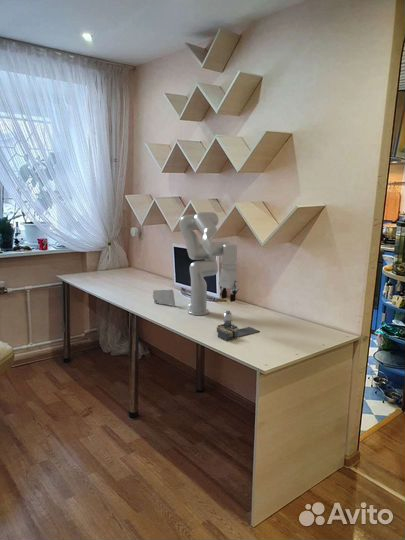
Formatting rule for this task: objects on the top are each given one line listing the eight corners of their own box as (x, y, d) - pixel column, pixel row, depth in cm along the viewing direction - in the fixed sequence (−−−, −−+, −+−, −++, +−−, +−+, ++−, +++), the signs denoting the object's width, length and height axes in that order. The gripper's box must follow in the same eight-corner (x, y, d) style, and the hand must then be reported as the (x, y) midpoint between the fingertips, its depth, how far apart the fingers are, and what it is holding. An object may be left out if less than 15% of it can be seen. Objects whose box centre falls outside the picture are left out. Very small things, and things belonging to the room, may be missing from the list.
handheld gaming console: (156, 305, 270) (175, 305, 262) (153, 306, 267) (173, 306, 260) (154, 288, 268) (173, 288, 261) (151, 289, 266) (171, 289, 259)
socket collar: (217, 326, 223) (217, 325, 223) (228, 324, 228) (228, 322, 228) (226, 330, 217) (226, 329, 217) (237, 327, 222) (237, 326, 222)
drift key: (216, 332, 211) (216, 327, 211) (220, 331, 213) (220, 326, 212) (229, 337, 203) (229, 332, 203) (233, 336, 205) (233, 331, 204)
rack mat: (228, 332, 214) (228, 332, 214) (249, 327, 223) (249, 326, 223) (238, 337, 208) (238, 336, 207) (259, 331, 216) (259, 330, 216)
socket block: (217, 337, 207) (218, 329, 206) (228, 334, 211) (228, 327, 211) (226, 341, 202) (226, 333, 201) (237, 338, 206) (237, 331, 205)
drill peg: (222, 327, 223) (222, 311, 221) (227, 325, 225) (228, 309, 224) (227, 328, 220) (227, 312, 218) (232, 327, 222) (233, 311, 221)
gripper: (213, 265, 221) (212, 297, 224) (234, 270, 207) (233, 304, 211) (224, 263, 225) (223, 295, 229) (245, 268, 212) (244, 302, 215)
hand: (228, 299), depth 220 cm, fingers open, 6 cm apart
